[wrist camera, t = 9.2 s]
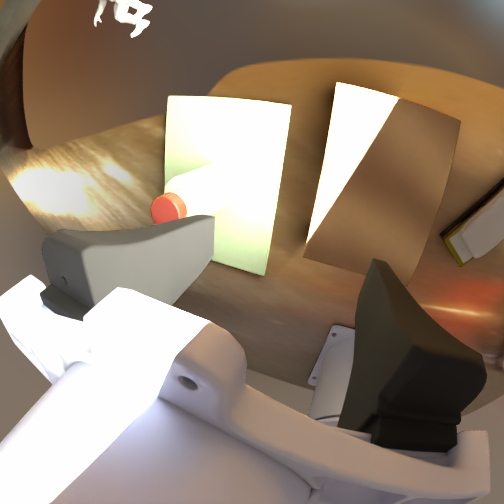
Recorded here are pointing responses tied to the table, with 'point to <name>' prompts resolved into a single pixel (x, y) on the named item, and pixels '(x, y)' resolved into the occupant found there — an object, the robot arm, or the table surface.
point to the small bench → (380, 181)
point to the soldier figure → (120, 13)
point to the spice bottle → (195, 193)
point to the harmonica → (477, 227)
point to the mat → (233, 166)
